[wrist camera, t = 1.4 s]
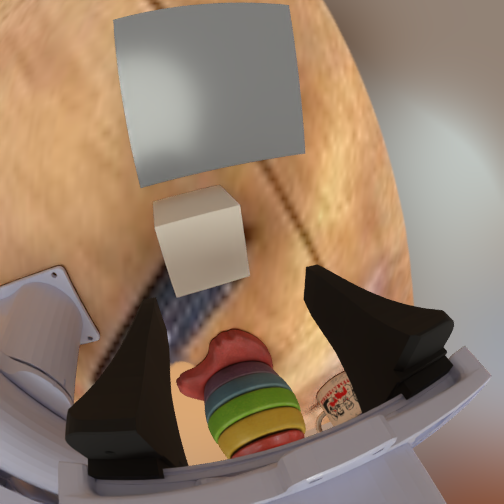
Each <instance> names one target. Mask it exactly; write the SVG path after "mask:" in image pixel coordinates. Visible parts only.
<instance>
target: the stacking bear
mask: <svg viewBox="0 0 504 504" xmlns="http://www.w3.org/2000/svg"><path fill="white" fill-rule="evenodd" d="M176 382H177V386H178V387H179V390H180V392H181V393H182V394H184V395H185V396H188V397H191V398H194V399H198V400H203V401H204V403H205V414H206V420H207V423H208V428H209V430H210V432H211V435H212V436H213V438H214V440H215V441H216V443H217V444H218V445H219V447H220V448H221V450H222V451H223V453H224V454H225V455H226V457H227V458H228V459H232V458H237V457H241V456H245V455H249V454H253V453H257V452H261V451H265V450H268V449H272V448H275V447H279V446H282V445H285V444H288V443H291V442H294V441H297V440H300V439H303V438H304V434H305V431H306V428H305V423H304V419H303V416H302V414H301V410H300V406H299V403H298V401H297V399H296V397H295V395H294V393H293V392H292V390H291V388H290V387H289V386H288V384H287V383H286V382H285V381H284V380H283V379H282V378H281V377H280V376H279V375H278V374H277V373H276V372H275V371H274V370H273V364H272V358H271V355H270V353H269V351H268V349H267V348H266V346H265V345H264V344H263V343H262V342H261V341H260V340H259V339H258V338H256V337H255V336H253V335H251V334H249V333H246V332H244V331H240V330H229V331H226V332H222V333H220V334H219V335H218V336H217V337H216V338H214V339H213V340H212V341H211V343H210V347H209V353H208V355H207V357H206V358H205V360H204V361H203V362H202V363H201V364H199V365H198V366H196V367H194V368H192V369H190V370H187V371H185V372H183V373H182V374H181V375H180V377H179V378H178V379H177V380H176Z"/></svg>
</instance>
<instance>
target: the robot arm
mask: <svg viewBox="0 0 504 504" xmlns="http://www.w3.org/2000/svg"><path fill="white" fill-rule="evenodd" d="M53 272H55V273H56V274H57V275H54V274H53ZM304 301H305V303H306V305H307V308H308V310H309V312H310V314H311V316H312V317H313V319H314V320H315V322H316V323H317V325H318V326H319V328H320V329H321V331H322V332H323V334H324V335H325V337H326V338H327V340H328V341H329V343H330V344H331V346H332V347H333V349H334V350H335V352H336V354H337V356H338V358H339V360H340V362H341V364H342V366H343V368H344V370H345V372H346V374H347V376H348V379H349V381H350V383H351V385H352V388H353V390H354V393H355V395H356V398H357V400H358V403H359V406H360V409H361V412H362V414H361V415H359V416H357V417H355V418H353V419H351V420H348V421H346V422H344V423H342V424H339V425H337V426H334V427H332V428H330V429H327V430H325V431H322V432H319V433H317V434H314V435H312V436H309V437H306V438H303V439H300V440H297V441H294V442H291V443H288V444H285V445H282V446H279V447H275V448H272V449H268V450H265V451H261V452H257V453H253V454H249V455H245V456H241V457H237V458H232V459H227V460H223V461H217V462H212V463H206V464H200V465H193V466H188V463H187V460H186V456H185V453H184V449H183V446H182V442H181V438H180V434H179V430H178V426H177V421H176V416H175V412H174V406H173V401H172V394H171V382H170V358H169V343H168V336H167V329H166V326H165V324H164V321H163V318H162V315H161V312H160V309H159V306H158V303H157V300H156V297H155V298H150V299H144V300H143V301H142V302H141V304H140V307H139V309H138V312H137V314H136V316H135V319H134V321H133V323H132V325H131V327H130V329H129V331H128V333H127V335H126V337H125V339H124V341H123V343H122V345H121V347H120V348H119V350H118V352H117V353H116V355H115V357H114V358H113V360H112V361H111V363H110V364H109V366H108V367H107V368H106V370H105V371H104V372H103V374H102V375H101V376H100V378H99V379H98V380H97V381H96V382H95V384H94V385H93V386H92V387H91V388H90V389H89V390H88V391H87V392H86V393H85V394H84V395H83V396H82V397H81V398H80V399H79V400H78V401H77V402H76V403H75V404H74V389H75V378H76V369H77V360H78V353H79V346H80V345H81V344H85V343H90V342H94V341H97V340H99V339H100V334H99V332H98V330H97V329H96V327H95V325H94V324H93V322H92V320H91V319H90V317H89V315H88V313H87V312H86V310H85V308H84V306H83V304H82V302H81V301H80V299H79V297H78V295H77V293H76V291H75V289H74V287H73V285H72V283H71V281H70V279H69V277H68V275H67V273H66V271H65V269H64V268H63V267H62V266H56V267H53V268H50V269H47V270H44V271H42V272H39V273H36V274H33V275H30V276H27V277H24V278H22V279H19V280H16V281H13V282H11V283H8V284H5V285H3V286H0V504H447V503H446V502H445V500H444V499H443V497H442V495H441V494H440V492H439V490H438V489H437V487H436V486H435V484H434V482H433V481H432V479H431V477H430V476H429V474H428V473H427V471H426V469H425V468H424V466H423V465H422V463H421V461H420V460H419V458H418V457H417V455H416V453H415V452H414V450H413V449H412V448H414V447H415V446H417V445H418V444H420V443H421V442H422V441H424V440H425V439H426V438H428V437H429V436H430V435H432V434H433V433H434V432H435V431H437V430H438V429H439V428H441V427H442V426H443V425H444V424H445V423H447V422H448V421H449V420H450V419H452V418H453V417H454V416H455V415H456V414H457V413H459V412H460V411H461V410H462V409H463V408H464V407H465V406H467V405H468V404H469V402H470V401H471V400H472V399H473V398H474V397H475V396H476V395H477V394H478V393H479V392H480V390H481V389H482V388H483V387H484V386H485V385H486V384H487V382H488V381H489V380H490V379H491V375H490V373H489V372H488V371H487V370H486V369H485V368H484V366H483V365H482V364H481V363H480V362H479V361H478V360H477V359H476V358H475V356H474V355H473V354H472V353H471V352H470V351H469V350H468V349H467V348H466V347H465V346H464V347H462V348H461V349H459V350H458V351H457V352H456V353H454V354H453V355H452V356H451V357H450V358H449V359H448V358H447V357H446V356H445V355H446V353H447V351H446V350H445V349H444V345H445V343H446V342H447V340H448V338H449V336H450V334H451V333H452V330H453V327H454V322H453V320H452V319H451V318H450V317H449V316H448V315H447V314H446V313H445V312H444V311H442V310H435V309H426V308H420V307H415V306H411V305H406V304H403V303H399V302H396V301H392V300H389V299H386V298H384V297H381V296H379V295H376V294H374V293H371V292H369V291H367V290H365V289H363V288H361V287H358V286H357V285H355V284H353V283H351V282H349V281H347V280H345V279H343V278H341V277H340V276H338V275H336V274H334V273H332V272H331V271H329V270H327V269H325V268H323V267H321V266H319V265H313V266H309V267H306V276H305V289H304ZM89 336H91V337H89Z"/></svg>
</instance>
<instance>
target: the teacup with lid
mask: <svg viewBox="0 0 504 504" xmlns="http://www.w3.org/2000/svg"><path fill="white" fill-rule="evenodd" d="M317 401H318V403H319V404H320V406H321V407H322V409H323V410H324V411H323V412H322V413H321V414H320V415H319V416H318V417H317V420H316V430H317V433H319V432H322V428H321V422H322V419H323V418H324V417H325V416H326V415H327V417H328V418H329V420H330V421H331V423H332V424H333V426H337V425H339V424H342V423H344V422H346V421H348V420H351V419H353V418H355V417H357V416H359V415H361V414H362V412H361V409H360V406H359V403H358V400H357V398H356V395H355V393H354V390H353V388H352V385H351V383H350V381H349V379H348V376H347V374H346V372H343V373H340V374H339V375H337V376H335V377H334V378H332V379H331V380H330V381H328V382H327V383H326V384H325V385H324V386H323V387H322V388H321V389H320V391H319V392H318V394H317Z"/></svg>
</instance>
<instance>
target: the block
mask: <svg viewBox="0 0 504 504" xmlns="http://www.w3.org/2000/svg"><path fill="white" fill-rule="evenodd" d="M153 212H154V227H155V231H156V234H157V238H158V241H159V244H160V248H161V251H162V254H163V258H164V261H165V264H166V267H167V270H168V273H169V276H170V279H171V282H172V285H173V288H174V291H175V294H176V297H181V296H184V295H188V294H191V293H194V292H198V291H201V290H205V289H208V288H212V287H215V286H218V285H222V284H225V283H228V282H232V281H235V280H238V279H242V278H245V277H248V276H250V272H249V265H248V258H247V251H246V244H245V236H244V229H243V222H242V215H241V208H240V204H239V203H238V202H237V201H236V200H235V199H234V198H233V197H232V196H231V195H230V194H229V193H228V192H227V191H226V190H225V189H224V188H223V187H222V186H221V185H216V186H212V187H207V188H203V189H199V190H195V191H191V192H187V193H183V194H179V195H175V196H171V197H168V198H164V199H160V200H157V201H153Z"/></svg>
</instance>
